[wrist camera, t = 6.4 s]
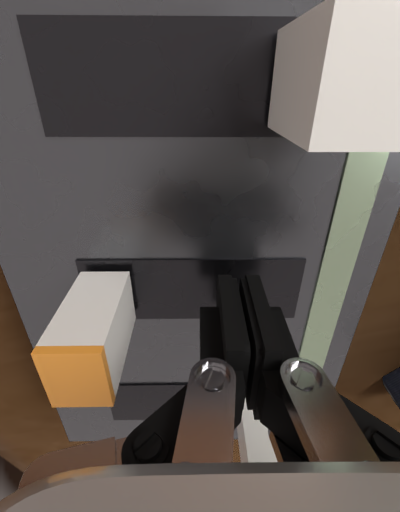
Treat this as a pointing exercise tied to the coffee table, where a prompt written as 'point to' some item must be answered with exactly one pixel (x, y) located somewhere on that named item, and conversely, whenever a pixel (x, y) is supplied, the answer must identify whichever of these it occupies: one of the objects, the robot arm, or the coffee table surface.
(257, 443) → the block
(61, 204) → the breaker panel
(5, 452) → the coffee table surface
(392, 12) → the breaker
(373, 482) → the robot arm
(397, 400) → the vhs cassette tape
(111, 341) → the block
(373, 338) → the coffee table surface
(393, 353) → the coffee table surface
